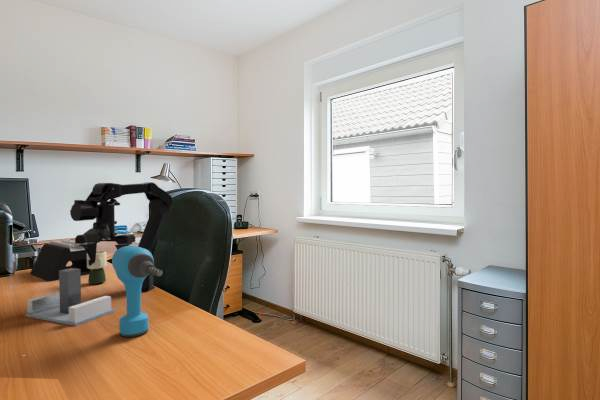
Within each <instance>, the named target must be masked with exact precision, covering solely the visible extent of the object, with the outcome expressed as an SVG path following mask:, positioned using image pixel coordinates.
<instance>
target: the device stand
mask: <svg viewBox="0 0 600 400" xmlns="http://www.w3.org/2000/svg"><path fill="white" fill-rule="evenodd" d="M69 262H71V265H68V263H69ZM70 268H76V269H80V271H81V277H82V276H89V273H90V270H91V269H88V268H87V252H86V250H85V249H84V248H83V247H82V246H79V244H75V240H74V241H73V240H68V239H61V240H60V241H56V240H50V241H49V243H44V244H43V245H42V246H41V249H40V251H39V253H38V255H37V258H36V260H35V262H34V263H33V266H32V268H31V270H30V272H29V273H30V275H31V274H32V275H31V276H35V277H37V278H39V277H40V278H39V279H42V280H45V281H48V282H54V281H59V271H60V270H65V269H70Z"/></svg>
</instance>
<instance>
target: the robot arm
mask: <svg viewBox="0 0 600 400" xmlns="http://www.w3.org/2000/svg"><path fill="white" fill-rule="evenodd" d="M133 194H144V195H145V197H146V199H147V200H148V201H149V211H150V214H149V217H148V220H147V221H146V225H145V227H144V230H143V232H142V235H141V238H140V240H139V242H138V245H137V246H138V247H141V248H144V249H146V250H148V251H149V252H150V253H151V254H152V248H153V246H154V243H155V239H156V237H157V235H158V232H159V229H160V226H161V224H162V221H163V218H164V217H165V215H167V214H168V212H170V210H171V208H172V206H173V205H172V203H173V204H174V200H173V196H172V195H171V194H169V193H168V192H167V191H165V190H164V189H163V188H161V187H159V186H158V184H156V183H154V182H149V181H148V182H142V183H129V184H119V183H115V182H97V183H95V184H94V185H93V187H92V190H91V192H90V193H89V194H88V196H87V197H86V199H85V200H83V199H75V200H74V204H72V205H71V208H70V210H69V213H70V217H71V219H72V220H73V221H75V222H80V221H92V220H95V221H94V222H93V224H92V227H91V228H89V229H88V230H86V231H85V232H84V233H82V234H77V235H76V236H75V238H74V242H75V244H79V246H82V247H83V248H84V249H85V250H86V252H87V254H88V256H89V258H90V260H91V263H92V264H93V263H95V259H96V251H97V247H98V243H102V242H115V243H116V244H114V246H115V248H116V251H117V250H118V249H120V248H122V247H125V246H132V245H133V243H135V242H136V236H135V234H134V233H122V234H119V235H118V233H117V232H116V230H115V228H116V225H117V224H118V221H117V220H116V219H115V216H116V215H115V206H120V205H121V203H120V202H119V201H117V199H119V198H121V197H123V196H126V195H133ZM98 203H99V204H98ZM155 268H157V267H156V266H155ZM153 287H154V288H156V286H155V285H154V275H153V274H149V275H148V276H147V277H146V278H145V279H144V281H143V283H142V288H141V292H149V291H150V289H151V290H153V289H154V288H153ZM152 288H153V289H152Z"/></svg>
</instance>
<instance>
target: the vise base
mask: <svg viewBox="0 0 600 400" xmlns="http://www.w3.org/2000/svg"><path fill="white" fill-rule="evenodd" d="M115 312H116V309H115V308H112V296H109V295H104V296H99V297H97V298H94V299H90V300H87V301H84V302H81V304H77V305H74V306H71V307H69V314H65V313H60V306H57V307H53V308H50V309H47V310H44V311H40V312H37V313H34V314H31V313H27V312H25V317H28V318H33V319H37V320H38V319H39V320H42V321H47V322H54V323H58V324H63V325H68V326H74V327H78V326H80V325H82V324H85V323H88V322H91V321H93V320H95V319H98V318H101V317H103V316H106V315H108V314H113V313H115Z"/></svg>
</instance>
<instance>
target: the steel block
mask: <svg viewBox="0 0 600 400" xmlns="http://www.w3.org/2000/svg"><path fill="white" fill-rule="evenodd" d="M81 279H82V276H81V271H80V269H76V268H70V269H65V270H60V271H59V280H58V281H59V282H58V284H59V285H58V287H59V288H58V290H59V291H58V292H60V313H65V314H69V307H71V306H74V305H77V304H81V303H82V287H81V286H82V284H81V283H82V282H81V281H82V280H81Z"/></svg>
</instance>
